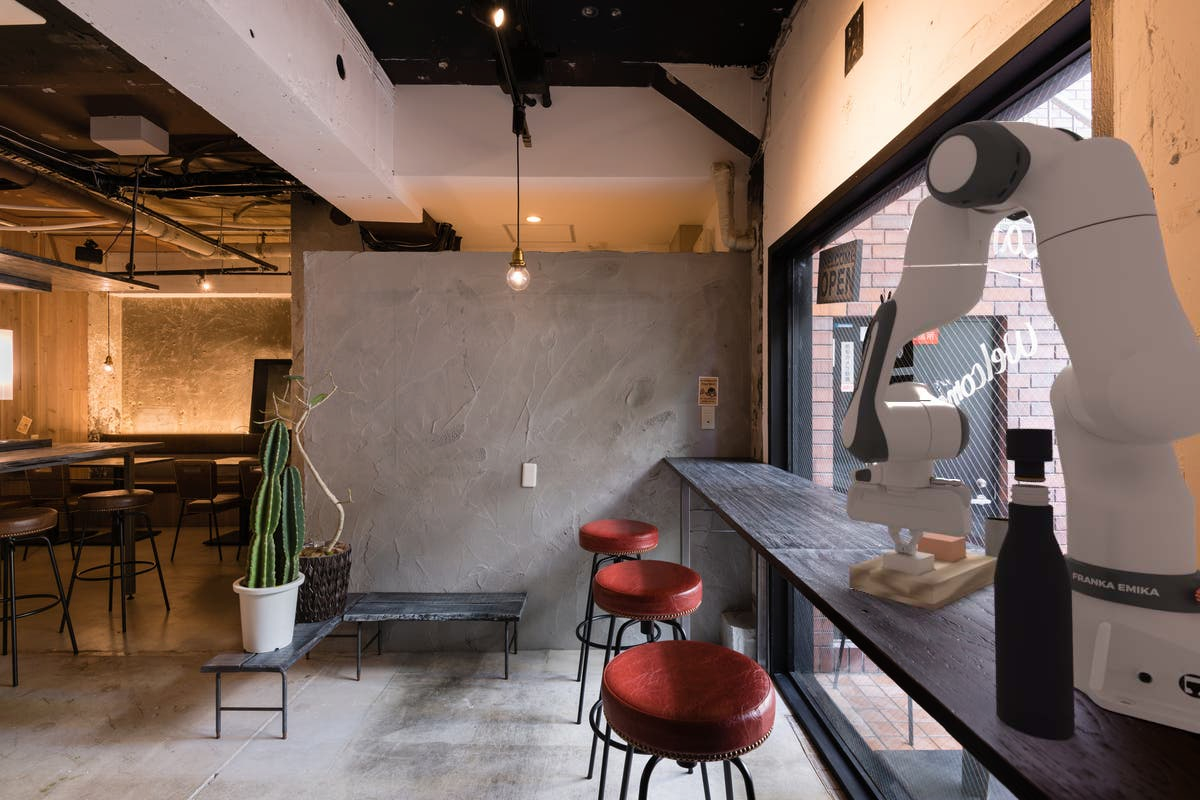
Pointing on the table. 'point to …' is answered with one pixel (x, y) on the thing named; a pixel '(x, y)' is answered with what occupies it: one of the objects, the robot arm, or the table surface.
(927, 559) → the beige block
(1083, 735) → the table surface
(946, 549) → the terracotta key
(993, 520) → the planter
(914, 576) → the light brown flat block
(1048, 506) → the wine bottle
